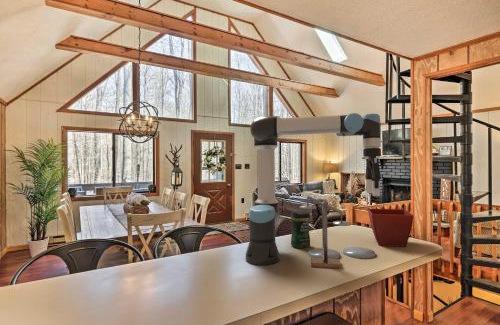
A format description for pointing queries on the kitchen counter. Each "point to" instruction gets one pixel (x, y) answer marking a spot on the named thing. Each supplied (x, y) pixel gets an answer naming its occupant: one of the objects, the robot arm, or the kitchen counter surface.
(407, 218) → the plant pot
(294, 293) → the kitchen counter surface
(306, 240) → the coffee jar
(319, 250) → the left dish
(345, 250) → the right dish
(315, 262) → the balance
